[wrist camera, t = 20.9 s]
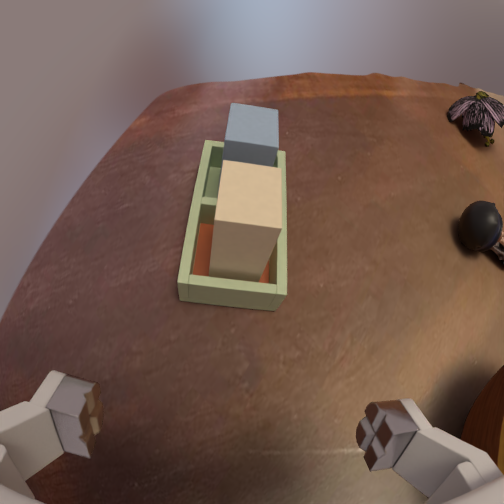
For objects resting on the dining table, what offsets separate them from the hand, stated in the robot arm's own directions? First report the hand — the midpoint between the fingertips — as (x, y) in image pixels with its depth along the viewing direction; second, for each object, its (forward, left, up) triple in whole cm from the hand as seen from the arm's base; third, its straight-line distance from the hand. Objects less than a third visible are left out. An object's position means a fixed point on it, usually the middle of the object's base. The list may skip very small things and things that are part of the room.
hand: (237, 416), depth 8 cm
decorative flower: (+26, +64, -16) cm, 71 cm away
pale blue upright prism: (-7, +19, -15) cm, 25 cm away
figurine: (+27, +31, -16) cm, 44 cm away
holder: (-6, +16, -16) cm, 23 cm away
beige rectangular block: (-4, +13, -15) cm, 20 cm away
